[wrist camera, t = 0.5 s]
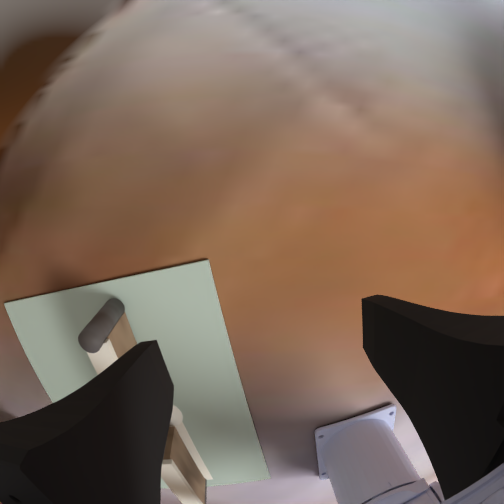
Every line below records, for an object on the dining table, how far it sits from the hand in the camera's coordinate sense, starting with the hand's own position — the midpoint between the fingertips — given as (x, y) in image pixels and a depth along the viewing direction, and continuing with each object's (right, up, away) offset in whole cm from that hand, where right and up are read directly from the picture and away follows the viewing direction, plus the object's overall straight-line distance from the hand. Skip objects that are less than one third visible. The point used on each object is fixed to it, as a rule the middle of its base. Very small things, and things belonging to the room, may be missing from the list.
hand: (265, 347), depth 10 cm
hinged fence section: (-9, -5, +10) cm, 14 cm away
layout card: (-10, -10, +12) cm, 19 cm away
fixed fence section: (-7, -15, +13) cm, 21 cm away
